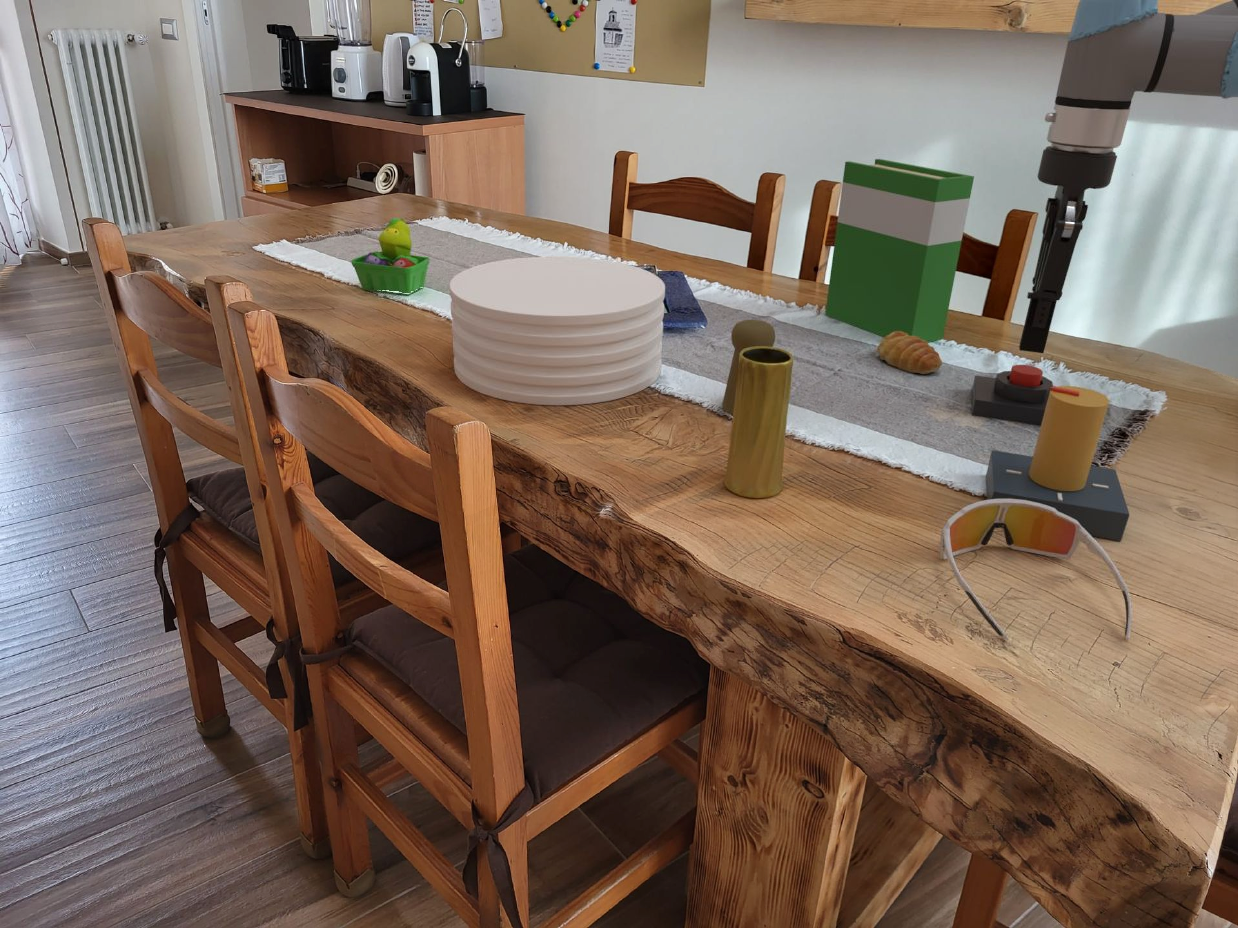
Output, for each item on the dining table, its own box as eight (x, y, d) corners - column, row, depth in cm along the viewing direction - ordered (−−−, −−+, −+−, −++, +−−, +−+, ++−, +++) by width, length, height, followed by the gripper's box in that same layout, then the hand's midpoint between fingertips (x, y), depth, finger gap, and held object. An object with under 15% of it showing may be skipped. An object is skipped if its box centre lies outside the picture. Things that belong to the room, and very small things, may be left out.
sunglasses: (1063, 540, 86) (1080, 497, 83) (1144, 659, 74) (1167, 614, 71) (915, 540, 85) (927, 497, 82) (972, 660, 73) (989, 615, 70)
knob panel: (1107, 494, 95) (1116, 467, 94) (1121, 541, 86) (1130, 512, 85) (985, 474, 98) (992, 448, 97) (987, 517, 90) (994, 489, 88)
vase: (711, 482, 95) (721, 352, 89) (751, 466, 99) (764, 340, 92) (754, 505, 91) (769, 370, 84) (794, 487, 94) (811, 357, 88)
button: (1038, 380, 114) (1042, 366, 114) (1040, 390, 111) (1043, 376, 111) (1008, 375, 115) (1011, 362, 115) (1009, 385, 112) (1012, 372, 112)
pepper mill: (713, 409, 112) (719, 323, 107) (735, 394, 117) (743, 311, 112) (757, 421, 109) (766, 334, 104) (778, 406, 114) (788, 321, 109)
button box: (1061, 403, 117) (1069, 374, 116) (1067, 430, 110) (1076, 399, 108) (971, 390, 120) (977, 362, 119) (971, 416, 113) (978, 385, 111)
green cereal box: (825, 315, 149) (845, 161, 138) (857, 308, 153) (879, 159, 142) (909, 346, 136) (939, 180, 125) (942, 339, 139) (974, 176, 129)
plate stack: (414, 358, 125) (408, 276, 120) (573, 321, 142) (573, 247, 137) (538, 424, 107) (536, 330, 102) (703, 372, 124) (709, 289, 119)
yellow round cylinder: (1088, 476, 92) (1113, 390, 88) (1081, 496, 88) (1107, 407, 84) (1033, 463, 94) (1055, 378, 90) (1024, 482, 90) (1046, 395, 86)
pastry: (952, 373, 126) (958, 347, 124) (915, 380, 123) (919, 353, 122) (906, 352, 134) (910, 326, 132) (869, 358, 131) (873, 332, 129)
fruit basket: (351, 291, 154) (344, 223, 149) (379, 278, 161) (373, 213, 156) (411, 299, 150) (406, 229, 145) (437, 285, 158) (433, 219, 153)
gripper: (1041, 138, 108) (997, 330, 118) (1048, 152, 96) (999, 362, 107) (1110, 143, 105) (1059, 338, 116) (1126, 158, 94) (1069, 372, 105)
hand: (1031, 349), depth 112 cm, fingers closed
